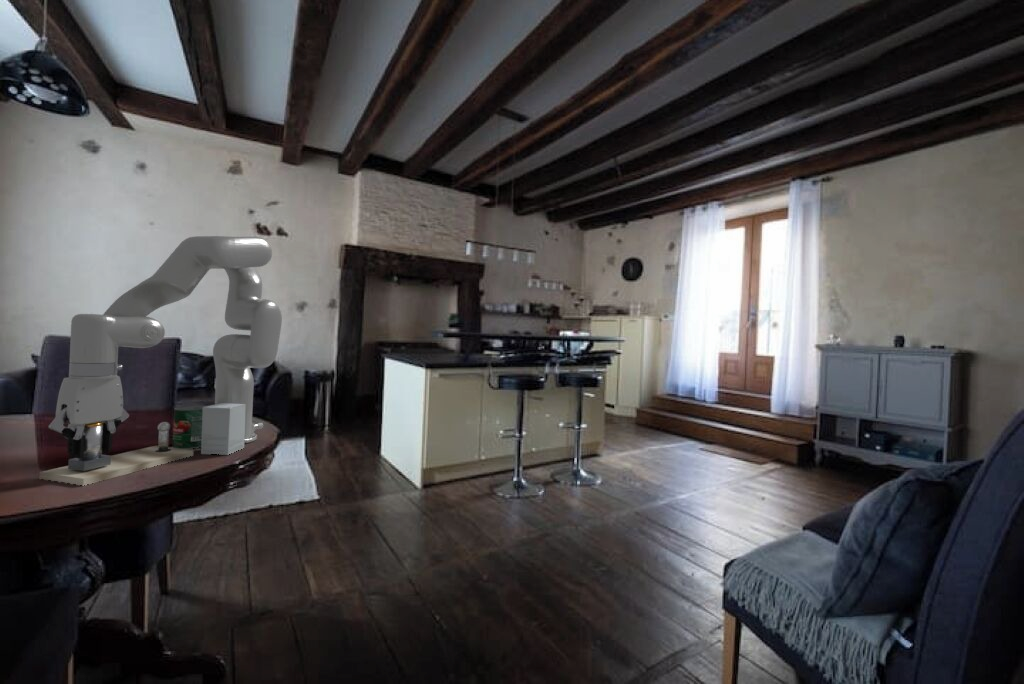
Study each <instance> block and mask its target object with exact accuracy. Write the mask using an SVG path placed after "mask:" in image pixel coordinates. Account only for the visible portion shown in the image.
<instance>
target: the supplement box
mask: <svg viewBox="0 0 1024 684" xmlns="http://www.w3.org/2000/svg"><path fill="white" fill-rule="evenodd" d="M245 407H246V404H229V403H219V404H215V403H214V404H210V405H208V406H206V407H203V408H202V440H201V449H200V455H211V454H217V455H216V456H218V454H219V456H229V454H230V455H232V454H234V452H235V453H237V452H239V451H242V450H243V448H244V449H245V443H244V437H245ZM241 449H242V450H241ZM238 450H239V451H238ZM236 451H237V452H236ZM231 453H232V454H231Z"/></svg>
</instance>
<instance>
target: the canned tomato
mask: <svg viewBox="0 0 1024 684" xmlns="http://www.w3.org/2000/svg"><path fill="white" fill-rule="evenodd" d="M206 406H209V405H206V404H186V405H178V406H175V407H174V408H173V411H174V412H173V427H172V428H173V429H172V431H173V432H172V446H171V447H173V448H181V449H189V450H194V449H193V448H196V449H200V448H199V447H201V440H202V408H203V407H206Z"/></svg>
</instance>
